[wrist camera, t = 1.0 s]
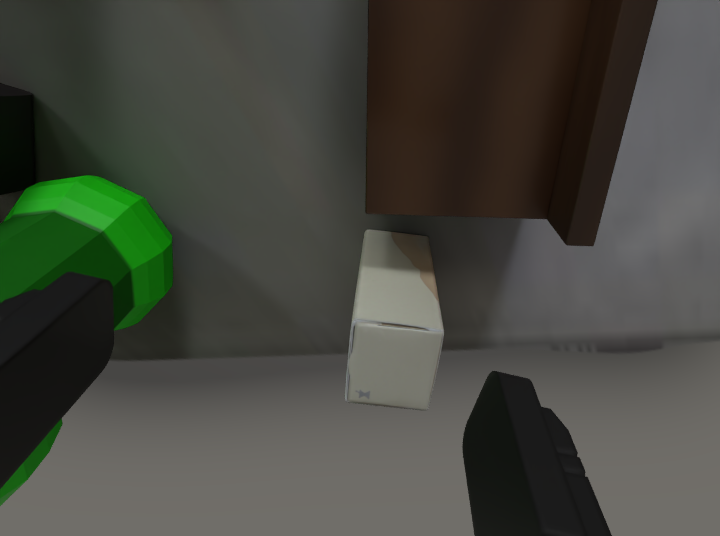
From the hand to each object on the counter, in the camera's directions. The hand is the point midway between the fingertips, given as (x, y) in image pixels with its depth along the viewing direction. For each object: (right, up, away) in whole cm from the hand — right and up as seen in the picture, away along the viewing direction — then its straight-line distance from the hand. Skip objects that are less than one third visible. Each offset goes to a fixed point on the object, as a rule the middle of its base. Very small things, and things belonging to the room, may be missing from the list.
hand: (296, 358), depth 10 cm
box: (+4, +2, +22) cm, 23 cm away
